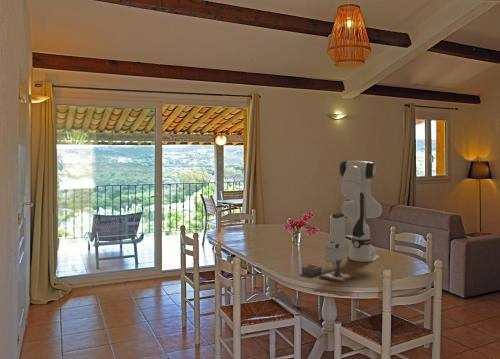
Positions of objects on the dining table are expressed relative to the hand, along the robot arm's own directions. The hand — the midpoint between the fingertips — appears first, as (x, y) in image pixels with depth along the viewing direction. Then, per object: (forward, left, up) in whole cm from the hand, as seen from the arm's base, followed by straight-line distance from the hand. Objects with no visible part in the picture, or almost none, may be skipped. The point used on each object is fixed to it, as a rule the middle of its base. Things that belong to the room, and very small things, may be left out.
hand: (337, 267), depth 240 cm
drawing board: (0, 0, -6) cm, 6 cm away
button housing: (+3, -15, -6) cm, 16 cm away
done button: (+3, -15, -3) cm, 16 cm away
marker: (0, 0, -4) cm, 4 cm away
